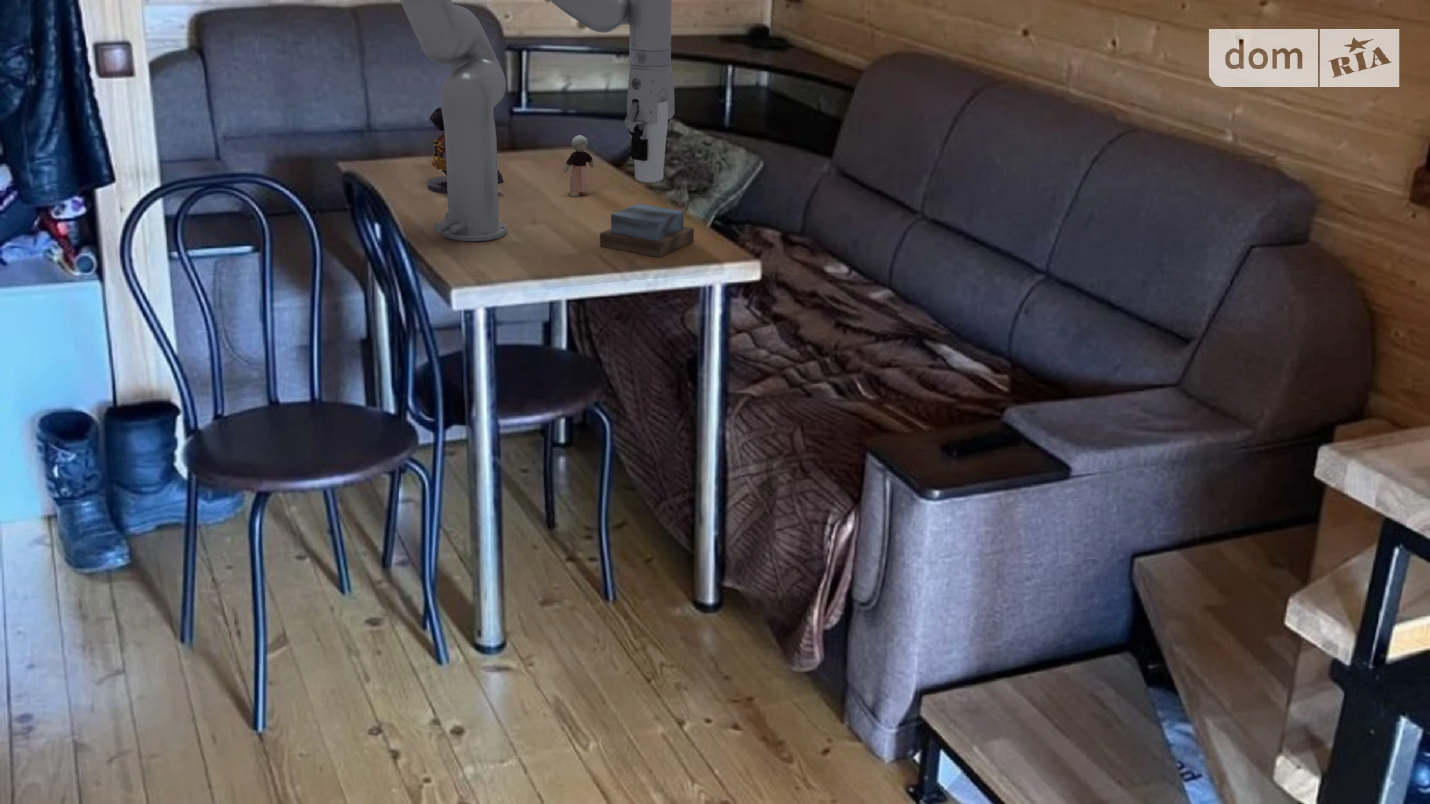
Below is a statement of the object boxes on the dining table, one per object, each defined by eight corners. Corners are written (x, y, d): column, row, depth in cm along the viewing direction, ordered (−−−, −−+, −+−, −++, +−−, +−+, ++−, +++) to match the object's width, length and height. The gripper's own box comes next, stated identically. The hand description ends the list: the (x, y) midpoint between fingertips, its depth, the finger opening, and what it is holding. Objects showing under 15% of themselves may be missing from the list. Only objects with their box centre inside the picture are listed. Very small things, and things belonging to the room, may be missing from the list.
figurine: (506, 195, 303) (504, 117, 297) (442, 201, 298) (438, 121, 291) (478, 174, 320) (475, 99, 314) (417, 179, 314) (413, 102, 308)
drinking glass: (647, 173, 273) (648, 94, 268) (674, 180, 269) (675, 99, 264) (623, 179, 268) (623, 99, 263) (650, 186, 265) (651, 104, 259)
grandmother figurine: (574, 199, 303) (574, 139, 298) (561, 195, 305) (560, 136, 300) (598, 192, 308) (599, 133, 304) (585, 189, 311) (585, 131, 306)
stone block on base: (659, 257, 266) (660, 225, 263) (600, 245, 271) (600, 215, 269) (693, 241, 276) (694, 210, 274) (635, 230, 282) (636, 200, 280)
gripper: (643, 66, 252) (642, 168, 259) (691, 54, 266) (689, 150, 273) (606, 62, 255) (607, 162, 262) (656, 50, 269) (655, 145, 276)
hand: (649, 155), depth 267 cm, fingers closed on drinking glass, 6 cm apart
